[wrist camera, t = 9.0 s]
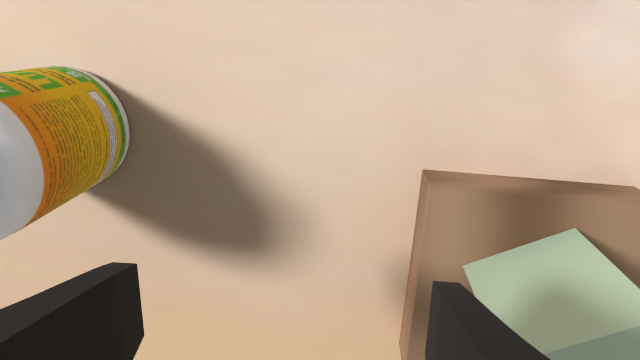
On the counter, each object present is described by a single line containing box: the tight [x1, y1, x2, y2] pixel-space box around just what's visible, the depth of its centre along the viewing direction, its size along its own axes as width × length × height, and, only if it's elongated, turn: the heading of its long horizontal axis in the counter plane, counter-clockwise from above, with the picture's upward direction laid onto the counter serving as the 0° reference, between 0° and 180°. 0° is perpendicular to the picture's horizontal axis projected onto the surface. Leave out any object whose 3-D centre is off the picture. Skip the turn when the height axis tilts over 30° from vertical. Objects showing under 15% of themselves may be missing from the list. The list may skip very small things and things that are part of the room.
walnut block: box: [399, 170, 640, 360], centre depth 21 cm, size 9×9×3 cm
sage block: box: [463, 228, 640, 360], centre depth 17 cm, size 4×4×6 cm
